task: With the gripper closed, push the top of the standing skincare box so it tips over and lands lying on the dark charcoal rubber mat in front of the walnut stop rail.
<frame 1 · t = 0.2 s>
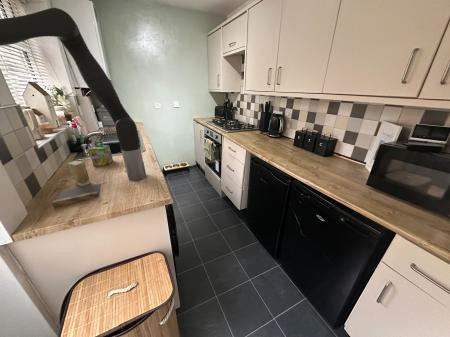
hand: (2, 137, 72), 29 cm above the counter, fingers open, 8 cm apart
mat: (80, 193, 87), on the counter
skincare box: (83, 184, 96), on the counter
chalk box: (103, 163, 122), on the counter
stop rail: (77, 201, 81), on the counter
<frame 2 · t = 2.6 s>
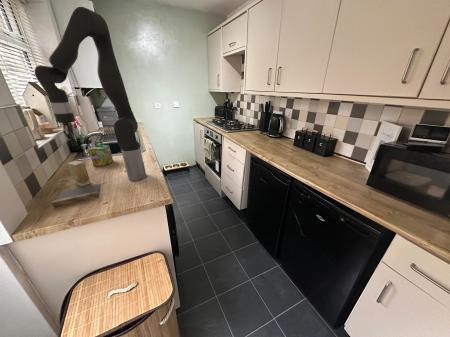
hand: (74, 145, 97), 18 cm above the counter, fingers closed
nothing on the counter moved.
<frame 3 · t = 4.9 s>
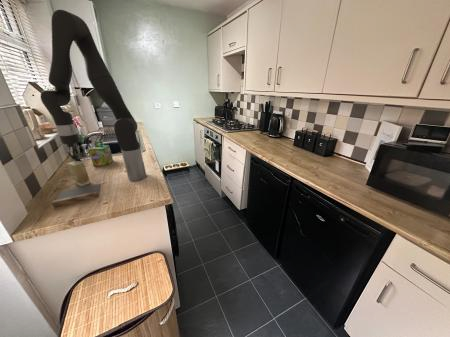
hand: (79, 165, 97), 9 cm above the counter, fingers closed
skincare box: (83, 183, 96), on the counter, touching gripper
everything else where it was.
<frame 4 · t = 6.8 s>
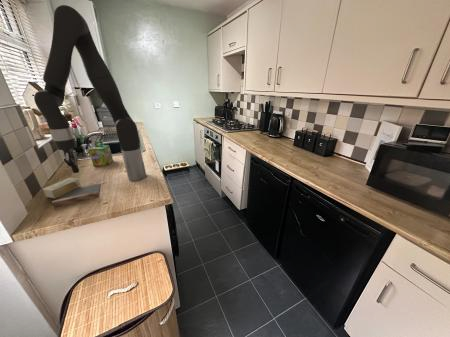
hand: (76, 172, 89), 8 cm above the counter, fingers closed
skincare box: (76, 181, 93), point 3 cm above the counter, touching mat
everything else where it was.
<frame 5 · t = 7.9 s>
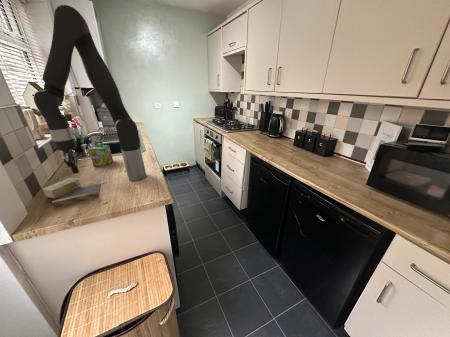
hand: (76, 172, 89), 8 cm above the counter, fingers closed
nothing on the counter moved.
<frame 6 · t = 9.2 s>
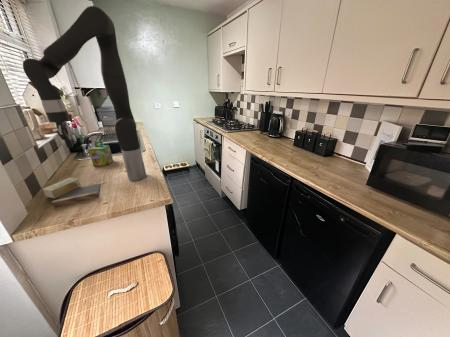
hand: (70, 147, 89), 20 cm above the counter, fingers closed
nothing on the counter moved.
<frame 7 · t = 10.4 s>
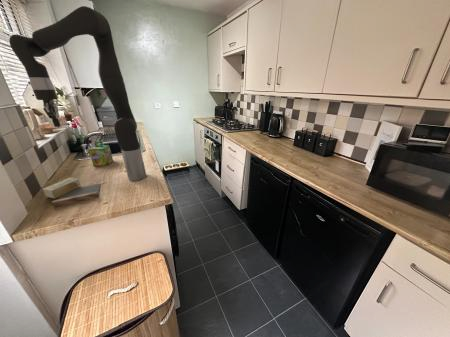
hand: (57, 126, 91), 29 cm above the counter, fingers closed
nothing on the counter moved.
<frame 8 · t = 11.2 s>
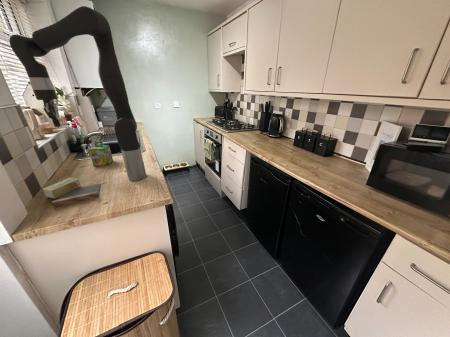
hand: (57, 126, 91), 29 cm above the counter, fingers closed
nothing on the counter moved.
at the end: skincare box tilted 90°; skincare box inside the target area (6.2 cm from its centre), point 2.6 cm above the counter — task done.
